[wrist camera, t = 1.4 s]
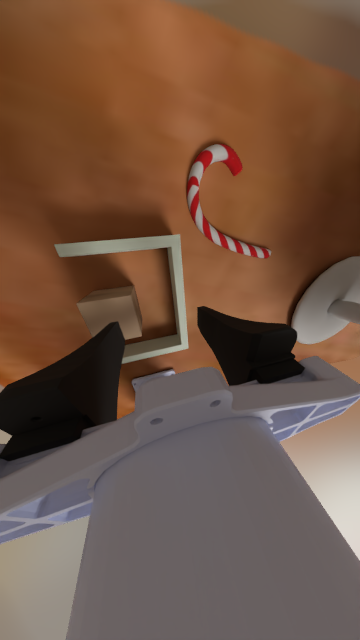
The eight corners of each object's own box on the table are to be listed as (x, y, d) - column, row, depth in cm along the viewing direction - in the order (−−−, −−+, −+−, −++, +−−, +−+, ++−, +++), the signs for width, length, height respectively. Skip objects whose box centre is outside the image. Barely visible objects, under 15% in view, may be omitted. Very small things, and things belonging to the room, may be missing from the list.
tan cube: (142, 318, 20) (141, 336, 16) (107, 324, 19) (96, 345, 15) (134, 285, 18) (130, 295, 13) (93, 290, 17) (76, 303, 12)
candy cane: (257, 276, 20) (174, 207, 14) (251, 275, 22) (171, 210, 16) (294, 224, 18) (214, 117, 12) (285, 226, 19) (208, 129, 13)
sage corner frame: (183, 337, 23) (188, 348, 21) (114, 352, 21) (110, 366, 19) (174, 237, 16) (179, 234, 14) (70, 246, 14) (53, 244, 12)
